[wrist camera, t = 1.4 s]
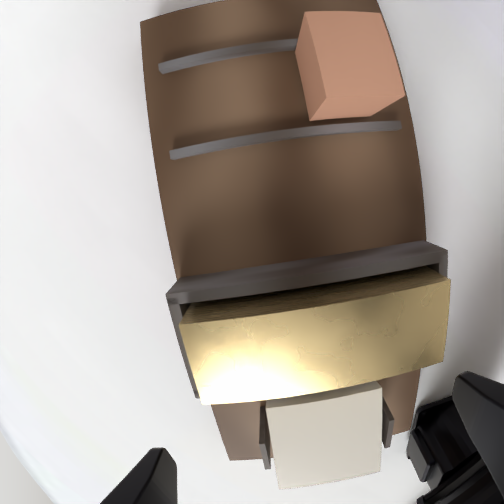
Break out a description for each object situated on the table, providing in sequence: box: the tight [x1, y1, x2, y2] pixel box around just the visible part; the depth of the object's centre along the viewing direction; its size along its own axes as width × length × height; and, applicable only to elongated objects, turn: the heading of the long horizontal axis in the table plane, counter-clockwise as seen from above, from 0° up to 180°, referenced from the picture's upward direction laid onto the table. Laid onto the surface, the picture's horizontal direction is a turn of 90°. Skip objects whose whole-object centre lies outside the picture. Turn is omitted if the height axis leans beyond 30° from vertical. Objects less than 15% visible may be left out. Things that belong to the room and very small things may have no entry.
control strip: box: [140, 0, 448, 469], centre depth 14 cm, size 13×28×5 cm, turn 9°
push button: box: [179, 266, 451, 404], centre depth 13 cm, size 11×4×2 cm, turn 99°
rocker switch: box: [266, 381, 382, 490], centre depth 14 cm, size 6×6×1 cm
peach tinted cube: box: [295, 11, 405, 121], centre depth 11 cm, size 3×4×4 cm
